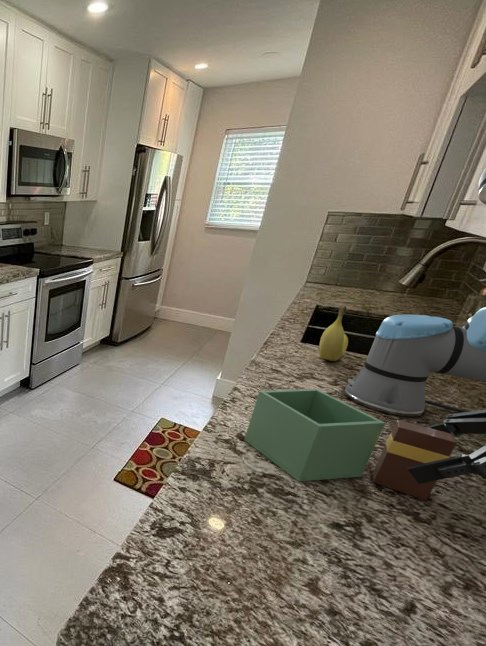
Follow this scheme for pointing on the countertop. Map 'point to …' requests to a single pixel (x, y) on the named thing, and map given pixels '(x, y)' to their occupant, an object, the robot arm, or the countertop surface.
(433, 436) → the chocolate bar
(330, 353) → the banana
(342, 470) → the trash bin
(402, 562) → the countertop surface
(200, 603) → the countertop surface
